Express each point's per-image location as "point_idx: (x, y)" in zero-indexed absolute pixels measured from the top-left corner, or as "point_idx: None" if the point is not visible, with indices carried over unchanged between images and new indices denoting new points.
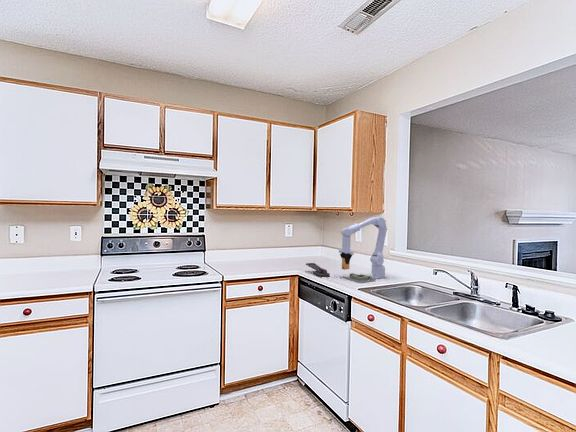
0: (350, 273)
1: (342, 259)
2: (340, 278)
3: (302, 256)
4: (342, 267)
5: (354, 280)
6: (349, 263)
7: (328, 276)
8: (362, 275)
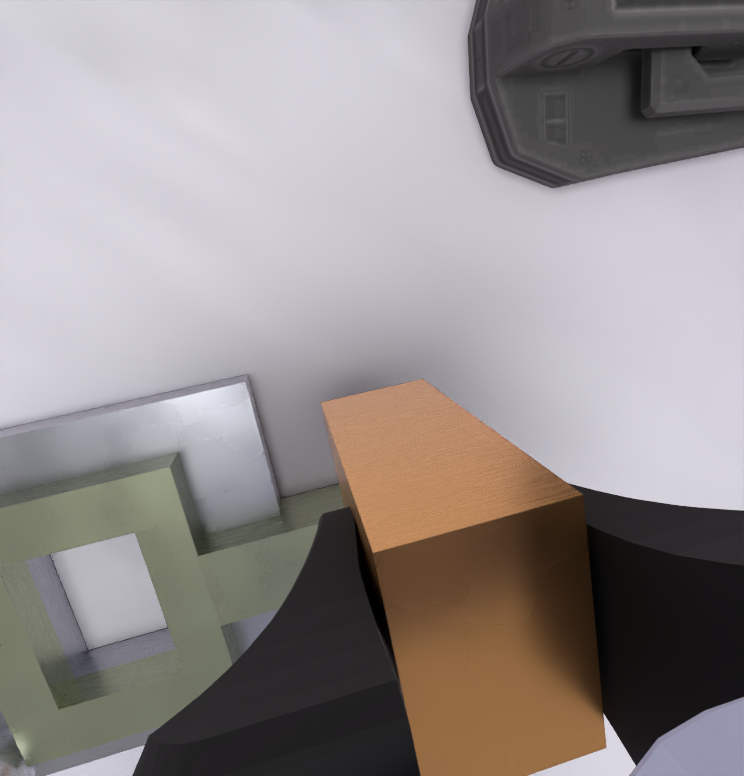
0: None
1: (510, 473)
2: (329, 300)
3: None
4: (407, 393)
5: (13, 430)
6: None
7: (486, 126)
8: (167, 673)
